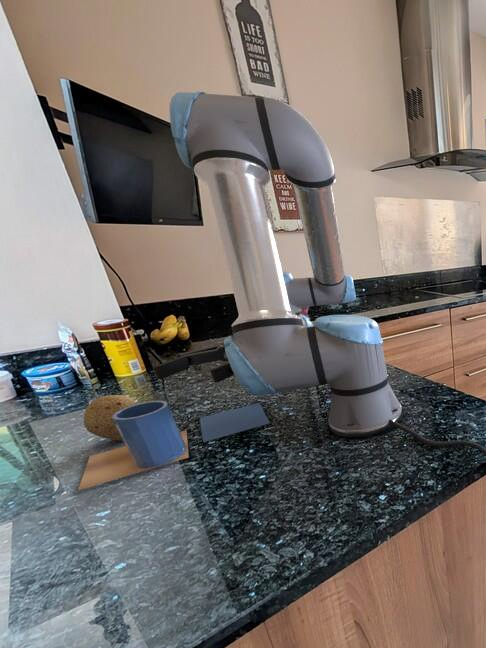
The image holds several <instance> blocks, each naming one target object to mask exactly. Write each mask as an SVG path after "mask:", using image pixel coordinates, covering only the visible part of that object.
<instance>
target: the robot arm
mask: <svg viewBox="0 0 486 648" xmlns="http://www.w3.org/2000/svg"><path fill="white" fill-rule="evenodd" d="M169 122H170V128H171V129H170V130H171V133H172V137H173V138H174V143H175V148H176V151H177V154H178V156H179V158H180V159H181V161H182V163H183V164H184V166H186V167H187V168H189V169H192V170H193V172H194V175H195V177H196V178H198V180H200V181H201V182H203V183H204V184H206V185H207V187H208V191H209V195H210V199H211V205H212V208H213V212H214V217H215V221H216V226H217V228H218V229H217V230H218V233H219V237H220V241H221V245H222V246H221V247H222V250H223V253H224V257H225V262H226V267H227V271H228V274H229V279H230V284H231V287H232V293H233V296H234V299H235V303H236V305H235V306H236V309H237V313H238V317H237V318H236V319H235V320H234V322H233V323H232V324H231V330H232V334H233V335H228V336H227V337H225V338H224V340H223V342H221V343H218V344H215V345H212V346H207V347H204V348H199V349H194V350H190V351H186V352H180V353H176V355H175V356H176V358H174V359H171V360H169V361H166V362H163V363H160V364H157V365H154V366H152V369H153V371H154V373H155V376H156V378H157V380H163V379H167V378H168V377H171V376H173V375H177V374H178V373H182V372H183V371H189V369H190V367H194V366H198V365H199V366H200V365H203V364H209V363H213V362H219V361H221V362H224V363H223V364H221V365H217V366H216V367H213V368H211V369H209V371H210V374H211V377H212V381H213V382H214V383H217V384H218V383H219V382H222V381H224V380H226V379H229V378H231V377H233V376H235V378H236V380H237V382H238V383H239V385H240V386H241V388H242V389H243V390H244V392H246V393H248V394H249V395H251V396H256V397H257V396H258V397H259V396H265V395H267V396H268V395H274V394H275V395H278V394H280V393H286V392H293V391H296V390H297V391H298V390H301V389H307V388H314V387H318V386H323V385H329V387H330V392H331V397H330V405H329V413H328V420H327V421H328V426H329V429H330V431H331V433H332V434H333V435H335V436H338V437H342V438H348V439H349V438H351V439H355V438H356V439H357V438H366V437H371V436H375V435H379V434H381V433H384V432H387V431H388V430H390V429H392V428H394V427H395V428H397V429H399V430H400V431H402V432H405V433H407V434H409V435H410V436H412V437H414V438H416V440H418V441H419V442H421V443H423V444H425V445H427V446H431V447H437V448H442V447H443V448H444V447H456V446H465V447H470V448H473V449H476V450H479V451H480V452H481V453H482V454H483V455H484V457H486V447H484V446H483V445H481V444H479V443H476V442H473V441H468V440H449V441H433V440H430V439H427V438H425V437H424V436H422V435H421V434H420V433H418V432H416V431H414V430H413V429H411V428H409V427H407V426H404V425H403V424H401V423H400V422H401V420H402V419H403V415H404V414H403V408H402V405H401V403H400V402H399V399H398V398H397V396H396V394H395V391H394V390H393V389H392V386H391V385H390V382H389V378H388V377H389V376H388V370H387V364H386V359H385V353H384V347H383V343H384V341H383V339H382V335H381V330H380V327H379V324H378V323H377V322H376V321H375V320H374V319H372V318H370V317H367V316H363V315H356V314H355V315H354V314H330V315H323V316H320V317H317V318H316V319H315V320H314V324H313V322H311V319H310V320H309V318H310V317H309V318H307V317H306V316H304V315H302V314H301V311H300V308H302V307H309V308H310V307H318V306H329V305H343V304H346V303H352V302H354V301H356V298H357V295H356V290H355V284H354V280H353V277H352V275H351V274H345V267H344V260H343V254H342V248H341V247H342V246H341V240H340V234H339V226H338V221H337V214H336V207H335V200H334V193H333V185H334V184H335V183H336V180H337V179H336V178H337V177H336V172H335V166H334V161H333V158H332V155H331V153H330V150H329V148H328V146H327V145H326V143H325V141H324V139H323V138H322V136H321V134H319V132H318V130H317V129H316V127H315V126H314V125H313V124H312V123H311V122H310V121H309V120H308V119H307V118H306V116H304V114H302V113H301V112H300V111H299V110H298V109H296V108H294V107H293V106H291V105H289V104H288V103H286V102H284V101H282V100H279V99H276V98H273V97H267V96H264V97H257V96H245V95H244V96H243V95H229V94H218V93H216V94H214V93H207V92H205V91H196V92H192V91H191V92H189V91H180V92H176V93H175V94H174V95H173V96H172V97H171V99H170V102H169ZM281 170H282V171H284V176H285V178H286V180H287V181H288V183H290V184H291V185H292V187H293V191H294V195H295V199H296V204H297V209H298V213H299V218H300V222H301V226H302V230H303V235H304V239H305V245H306V249H307V252H308V257H309V262H310V266H311V270H312V274H313V276H312V277H298V278H297V277H296V278H295V277H293V275H292V273H291V272H290V271H283V268H282V263H281V259H280V254H279V250H278V246H277V245H278V244H277V240H276V237H275V233H274V227H273V224H272V219H271V214H270V211H269V206H268V202H267V198H266V197H267V196H266V192H265V187H266V186H267V185H268V184H269V183H270V181H271V175H270V171H281ZM225 356H226V357H225Z"/></svg>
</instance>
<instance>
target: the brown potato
mask: <svg viewBox="0 0 486 648" xmlns="http://www.w3.org/2000/svg"><path fill="white" fill-rule="evenodd" d="M115 395H116V394H109V395H108V394H107V395H102V396H99V397H97V398H95V399H94V400H92V401H91V402H90V403H89V404H88V405H87V406H86V408H85V411H84V414H83V425H84V427H85V429H86V430H87V432H89V433H90V434H92V435H94V436H96V437H99V438H103V439H108V440H112V441H116V442H124V441H123V439H122V437H121V435H120V433H119V431H118V429H117V427H116V425H115V423H114V421H113V419H112V417H113V415H114V414H115V413H116V412H118V411H120V410H122V409H124V408H127V407H130V406H133V405H136V404H138V403H137V402H136V401H135V400H134V399H133V400H134V401H135V402H134V401H133V400H131V399H128V398H126V397H121V396H115Z"/></svg>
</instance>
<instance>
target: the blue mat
mask: <svg viewBox="0 0 486 648" xmlns="http://www.w3.org/2000/svg"><path fill="white" fill-rule="evenodd" d="M269 424H270V421H269V419H268V417H267V415H266V413H265V410H264V409H263V407H262V405H261V403H260V402H256V403H254V404H249V405H246V406H242V407H238V408H237V407H236V408H234V409H233V408H232V409H229V410H226V411H222V412H219V413H214V414H211V415H206V416H203V417H199V425H200V432H201V437H202V443H206V442H209V441H213V440H217V439H220V438H223V437H227V436H231V435H234V434H237V433H241V432H245V431H248V430H252V429H255V428H259V427H262V426H265V425H269Z"/></svg>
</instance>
